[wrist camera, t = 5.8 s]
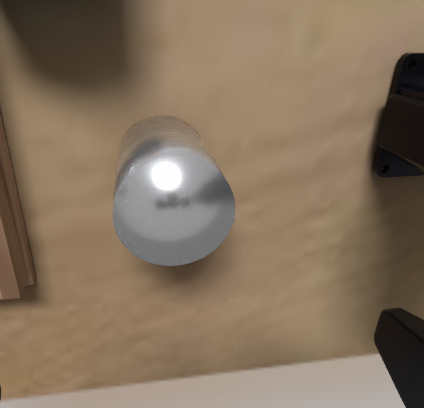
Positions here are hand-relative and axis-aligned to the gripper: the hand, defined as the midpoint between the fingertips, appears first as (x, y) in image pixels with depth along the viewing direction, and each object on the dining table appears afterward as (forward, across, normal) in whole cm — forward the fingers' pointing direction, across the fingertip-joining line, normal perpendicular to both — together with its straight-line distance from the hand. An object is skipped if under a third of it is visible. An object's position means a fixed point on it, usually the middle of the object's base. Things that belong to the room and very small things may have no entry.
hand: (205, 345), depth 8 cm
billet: (+12, 0, 0) cm, 12 cm away
